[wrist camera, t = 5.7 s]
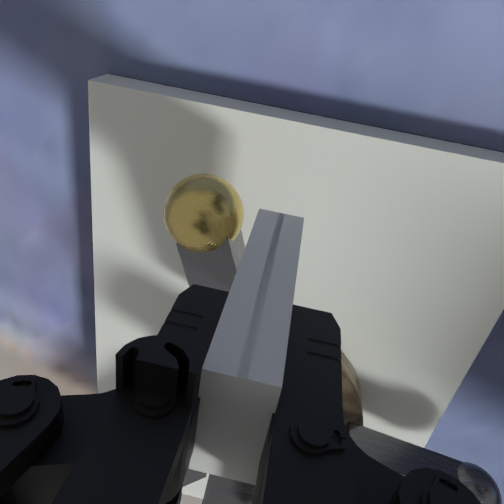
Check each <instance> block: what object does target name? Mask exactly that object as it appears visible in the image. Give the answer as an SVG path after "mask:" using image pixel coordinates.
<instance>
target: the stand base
mask: <svg viewBox="0 0 504 504" xmlns="http://www.w3.org/2000/svg"><path fill="white" fill-rule="evenodd" d="M88 103H89V135H90V167H91V199H92V231H93V263H94V295H95V327H96V359H97V391H98V393H104V392H107V391H111V390H114V389H116V359H115V354H116V353H117V352H118V351H119V350H120V349H121V348H122V347H123V346H124V345H125V344H127V343H129V342H131V341H133V340H135V339H137V338H141V337H146V336H152V335H158V333H159V331H160V329H161V327H162V325H163V324H164V323H165V320H166V318H167V316H168V314H169V312H171V308H172V306H173V305H174V303H175V301H176V299H177V297H178V295H179V294H180V293H182V292H183V291H184V290H186V289H187V288H189V284H188V281H187V278H186V274H185V271H184V268H183V265H182V262H181V258H180V255H179V252H178V249H177V245H176V242H175V241H174V240H173V239H172V237H171V236H170V235H169V233H168V231H167V228H166V226H165V222H164V204H165V201H166V198H167V196H168V194H169V192H170V191H171V189H172V188H173V187H174V186H175V185H176V184H177V183H178V182H179V181H181V180H182V179H184V178H186V177H188V176H191V175H195V174H212V175H216V176H219V177H221V178H223V179H225V180H226V181H228V182H229V183H230V184H231V185H232V186H233V187H234V188H235V189H236V191H237V192H238V194H239V196H240V198H241V200H242V203H243V208H244V220H243V225H242V228H241V231H242V235H243V240H244V244H245V247H246V244H247V241H248V239H249V236H250V233H251V230H252V228H253V225H254V222H255V219H256V216H257V214H258V211H259V208H260V209H264V210H269V211H274V212H279V213H284V214H288V215H293V216H298V217H303V218H304V223H303V231H302V238H301V246H300V254H299V261H298V269H297V277H296V284H295V292H294V300H293V305H298V306H302V307H307V308H311V309H316V310H320V311H325V312H329V313H332V315H333V316H334V318H335V320H336V322H337V323H338V325H339V327H340V329H341V352H343V353H344V355H345V356H346V357H347V358H348V360H349V361H350V362H351V364H352V366H353V367H354V369H355V371H356V373H357V376H358V379H359V383H360V388H361V400H362V411H363V426H364V427H367V428H370V429H373V430H375V431H378V432H381V433H384V434H386V435H389V436H392V437H395V438H398V439H400V440H403V441H406V442H409V443H412V444H414V445H417V446H420V447H423V448H424V447H425V445H426V443H427V441H428V440H429V438H430V436H431V434H432V433H433V431H434V429H435V427H436V426H437V424H438V422H439V421H440V419H441V417H442V415H443V414H444V412H445V410H446V408H447V407H448V405H449V403H450V402H451V400H452V398H453V396H454V395H455V393H456V391H457V389H458V388H459V386H460V384H461V382H462V381H463V379H464V377H465V376H466V374H467V372H468V370H469V369H470V367H471V365H472V363H473V362H474V360H475V358H476V357H477V355H478V353H479V351H480V350H481V348H482V346H483V344H484V343H485V341H486V339H487V337H488V336H489V334H490V332H491V331H492V329H493V327H494V325H495V324H496V322H497V320H498V318H499V317H500V315H501V313H502V312H503V310H504V153H503V152H498V151H493V150H488V149H483V148H478V147H473V146H468V145H463V144H458V143H453V142H448V141H443V140H438V139H433V138H428V137H423V136H418V135H413V134H408V133H403V132H398V131H393V130H388V129H383V128H378V127H373V126H368V125H363V124H358V123H353V122H347V121H342V120H337V119H332V118H327V117H322V116H317V115H312V114H307V113H302V112H297V111H292V110H287V109H282V108H277V107H272V106H267V105H262V104H257V103H252V102H247V101H242V100H237V99H232V98H227V97H222V96H217V95H212V94H207V93H202V92H197V91H192V90H187V89H182V88H177V87H171V86H166V85H161V84H156V83H151V82H146V81H141V80H136V79H131V78H126V77H121V76H116V75H111V74H105V75H102V76H99V77H96V78H93V79H90V80H88ZM208 477H209V474H208V473H207V475H206V477H205V478H203V479H200V480H198V481H196V482H193V483H191V484H189V485H186V486H184V487H182V494H186V495H190V496H194V497H198V498H202V499H203V497H204V493H205V489H206V485H207V481H208Z"/></svg>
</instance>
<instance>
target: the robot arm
mask: <svg viewBox="0 0 504 504" xmlns="http://www.w3.org/2000/svg"><path fill="white" fill-rule="evenodd" d="M303 223H304V218H303V217H298V216H293V215H288V214H284V213H279V212H274V211H269V210H264V209H260V208H259V211H258V214H257V216H256V219H255V222H254V225H253V228H252V230H251V233H250V236H249V239H248V241H247V244H246V247H245V250H244V253H243V255H242V258H241V261H240V264H239V267H238V269H237V272H236V275H235V278H234V281H233V283H232V286H231V289H230V292H227V291H223V290H218V289H214V288H209V287H205V286H200V285H196V284H193V285H192V286H190V287H189V288H187V289H186V290H184V291H183V292H182V293H180V294H179V295H178V297H177V299H176V301H175V303H174V305H173V306H172V308H171V312H169V314H168V316H167V318H166V320H165V323H164V324H163V325H162V327H161V329H160V331H159V333H158V335H152V336H146V337H141V338H137V339H135V340H133V341H131V342H129V343H127V344H125V345H124V346H123V347H122V348H121V349H120V350H119V351H118V352H117V353H116V354H115V359H116V389H114V390H111V391H107V392H104V393H98V394H89V395H66V396H61V395H60V392H59V389H58V387H57V386H56V385H54V384H53V383H52V382H51V381H50V380H49V379H46V378H43V377H39V376H36V375H20V376H19V375H18V376H14V377H10V378H7V379H3V380H0V504H180V501H181V495H182V487H183V482H184V478H185V475H186V472H187V469H188V466H189V469H192V470H196V471H200V472H204V473H208V474H212V475H216V476H220V477H224V478H229V479H233V480H237V481H241V482H245V483H249V484H253V485H256V487H255V493H254V499H253V503H252V504H481V503H480V502H479V500H478V499H477V497H476V496H475V495H474V493H473V492H472V491H471V490H469V489H468V488H467V487H466V486H465V485H464V484H463V483H461V482H460V481H459V480H458V479H456V478H454V477H452V476H451V475H449V474H447V473H445V472H443V471H441V470H436V469H431V468H420V469H415V470H411V471H410V472H409V473H408V474H407V475H406V476H403V475H401V474H399V473H397V472H396V471H394V470H392V469H390V468H388V467H387V466H385V465H383V464H381V463H379V462H377V461H376V460H374V459H373V458H371V457H370V456H368V455H367V454H366V453H365V452H364V451H362V450H361V449H360V448H359V447H358V446H357V445H356V443H355V442H354V441H353V439H352V438H351V437H350V434H349V432H348V430H347V429H346V426H345V424H344V418H343V398H342V362H341V329H340V327H339V325H338V323H337V322H336V320H335V318H334V316H333V315H332V313H329V312H325V311H320V310H316V309H311V308H307V307H302V306H298V305H293V300H294V292H295V284H296V277H297V269H298V261H299V254H300V246H301V238H302V231H303ZM189 462H190V463H189Z"/></svg>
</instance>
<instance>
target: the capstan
mask: <svg viewBox="0 0 504 504" xmlns="http://www.w3.org/2000/svg"><path fill="white" fill-rule="evenodd" d="M243 220H244V208H243V203H242V200H241V198H240V196H239V194H238V192H237V191H236V189H235V188H234V187H233V186H232V185H231V184H230V183H229V182H228V181H226V180H225V179H223V178H221V177H219V176H216V175H212V174H195V175H191V176H188V177H186V178H184V179H182V180H181V181H179V182H178V183H177V184H176V185H175V186H174V187H173V188H172V189H171V191H170V192H169V194H168V196H167V198H166V201H165V204H164V222H165V226H166V228H167V231H168V233H169V235H170V236H171V237H172V239H173V240H174V241H175V242H176V245H177V249H178V252H179V255H180V258H181V262H182V265H183V268H184V271H185V274H186V278H187V281H188V284H189V287H190V286H192V285H193V284H196V285H200V286H205V287H209V288H214V289H218V290H223V291H227V292H230V289H231V286H232V283H233V281H234V278H235V275H236V272H237V269H238V267H239V264H240V261H241V258H242V255H243V253H244V250H245V244H244V240H243V235H242V231H241V228H242V225H243ZM341 362H342V398H343V418H344V424H345V426H346V429H347V430H348V432H349V434H350V437H351V438H352V439H353V441H354V442H355V443H356V445H357V446H358V447H359V448H360V449H361V450H362V451H364V452H365V453H366V454H367V455H368V456H370V457H371V458H373V459H374V460H376V461H377V462H379V463H381V464H383V465H385V466H387V467H388V468H390V469H392V470H394V471H396V472H397V473H399V474H401V475H403V476H406V475H407V474H408V473H409V472H410V471H411V470H415V469H420V468H431V469H436V470H441V471H443V472H445V473H447V474H449V475H451V476H452V477H454V478H456V479H458V480H459V481H460V482H461V483H463V484H464V485H465V486H466V487H467V488H468V489H469V490H471V491H472V492H473V493H474V495H475V496H476V497H477V499H478V500H479V502H480V503H481V504H502V499H501V494H500V490H499V488H498V486H497V484H496V482H495V481H494V479H493V478H492V477H491V476H490V475H489V474H488V473H487V472H486V471H485V470H484V469H482V468H481V467H479V466H477V465H475V464H472V463H468V462H462V461H459V460H456V459H453V458H450V457H448V456H445V455H442V454H439V453H437V452H434V451H431V450H428V449H425V448H423V447H420V446H417V445H414V444H412V443H409V442H406V441H403V440H400V439H398V438H395V437H392V436H389V435H386V434H384V433H381V432H378V431H375V430H373V429H370V428H367V427H364V426H363V411H362V400H361V388H360V383H359V379H358V376H357V373H356V371H355V369H354V367H353V366H352V364H351V362H350V361H349V360H348V358H347V357H346V356H345V355H344V353H343V352H341ZM189 463H190V462H189ZM206 475H207V473H204V472H200V471H196V470H192V469H189V466H188V469H187V472H186V475H185V478H184V482H183V487H184V486H186V485H189V484H191V483H193V482H196V481H198V480H200V479H203V478H205V477H206ZM255 487H256V485H253V484H249V483H245V482H241V481H237V480H233V479H229V478H224V477H220V476H216V475H212V474H209V477H208V481H207V485H206V489H205V493H204V497H203V501H202V504H252V503H253V499H254V493H255Z"/></svg>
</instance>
